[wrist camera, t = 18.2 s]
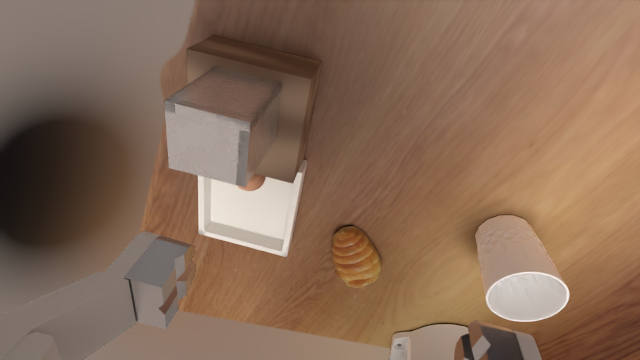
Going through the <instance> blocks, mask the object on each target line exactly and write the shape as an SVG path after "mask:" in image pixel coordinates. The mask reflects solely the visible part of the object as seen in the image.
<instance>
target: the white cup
mask: <svg viewBox="0 0 640 360" xmlns="http://www.w3.org/2000/svg"><path fill="white" fill-rule="evenodd" d="M475 239H476V243H477V250H478V254H477V255H478V261H479V266H480V273H481V278H482V283H483V288H484V293H485V298H486V303H487V305H488V307H489V309H490V310H491V311H492V312H493V313H495V314H496V315H498V316H500V317H502V318H504V319H508V320H512V321H519V322H530V321H538V320H542V319H545V318H548V317H551V316H553V315H555V314H556V313H558V312H559V311H561V310H562V309H563V308H564V307H565V305H566V304H567V302H568V300H569V290H568V288H567V286H566V284H565V282H564V281H563V279H562V277H561V275H560V274H559V272H558V270H557V268H556V266H555V265H554V263H553V261H552V259H551V257H550V256H549V254H548V253H547V251H546V249H545V248H544V246H543V244H542V242H541V241H540V239H539V238H538V237H537V235H536V234H535V232H534V230H533V228H532V227H531V226H530V225H529V223H528V222H527V221H526V220H525V219H522V218H520V217H517V216H514V215H499V216H496V217H493V218H490V219H488V220H486V221H485V222H484V223H483V224H481V225H480V226H479V227H478V230H477V232H476V234H475Z"/></svg>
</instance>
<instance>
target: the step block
mask: <svg viewBox="0 0 640 360" xmlns="http://www.w3.org/2000/svg"><path fill="white" fill-rule="evenodd" d="M214 66H216V67H220V68H224V69H228V70H232V71H236V72H240V73H244V74H248V75H253V76H257V77H261V78H265V79H269V80H273V81H277V82H281V83H282V89H281V97H280V105H279V113H278V121H277V129H276V137H275V140H274V141H273V143H272V145H271V146H270V148H269V150H268V151H267V153H266V154H265V156H264V158H263V159H262V161H261V163H260V164H259V166H258V168H257V169H256V171H255V172H254V174H258V175H261V176H265V177H269V178H273V179H277V180H281V181H285V182H289V183H292V184H293V182H294V180H295V178H296V175H297V173H298V171H299V168H300V166H301V164H302V161H303V159H304V156H305V151H306V145H307V140H308V135H309V129H310V124H311V119H312V113H313V108H314V103H315V98H316V92H317V87H318V82H319V76H320V71H321V66H322V62H321V61H317V60H313V59H309V58H305V57H301V56H297V55H293V54H289V53H284V52H280V51H276V50H272V49H268V48H264V47H260V46H256V45H252V44H248V43H243V42H239V41H235V40H231V39H227V38H223V37H219V36H215V35H213V36H211V37H209V38H207V39H205V40H203V41H201V42H199V43H197V44H195V45H193V46H191V47H189V48H187V82H188V84H190V83H191V82H193V81H194V80H196V79H197V78H198V77H200V76H201V75H203V74H204V73H206V72H207V71H209V70H210V69H212V68H213V67H214Z"/></svg>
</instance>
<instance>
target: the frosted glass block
mask: <svg viewBox="0 0 640 360" xmlns="http://www.w3.org/2000/svg"><path fill="white" fill-rule="evenodd" d="M281 89H282V83H281V82H277V81H273V80H269V79H265V78H261V77H257V76H253V75H248V74H244V73H240V72H236V71H232V70H228V69H224V68H220V67H216V66H214V67H213V68H212V69H210V70H209V71H207V72H206V73H204V74H203V75H201V76H200V77H198V78H197V79H196V80H194V81H193V82H191V83H190V84H188V85H187V86H185V87H184V88H182V89H181V90H180V91H178V92H177V93H175V94H174V95H172V96H171V97H169V98H168V99H167V100H165V101H164V104H165V118H166V132H167V145H168V159H169V168H171V169H175V170H179V171H183V172H187V173H191V174H195V175H199V176H203V177H206V178H210V179H214V180H218V181H222V182H226V183H230V184H234V185H238V186H241V187H246V186H247V184H248V182H249V181H250V179H251V177H252V176H253V174H254V172H255V171H256V169H257V168H258V166H259V164H260V163H261V161H262V159H263V158H264V156H265V154H266V153H267V151H268V150H269V148H270V146H271V145H272V143H273V141H274V140H275V137H276V129H277V121H278V113H279V105H280V97H281Z"/></svg>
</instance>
